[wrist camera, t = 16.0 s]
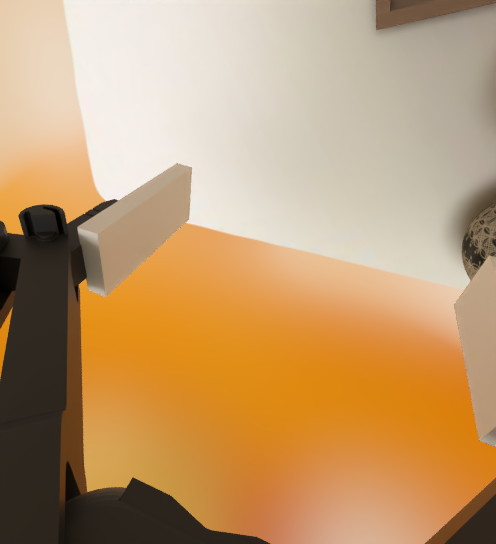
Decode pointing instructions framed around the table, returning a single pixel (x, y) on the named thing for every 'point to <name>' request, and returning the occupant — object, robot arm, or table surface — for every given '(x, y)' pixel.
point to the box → (419, 10)
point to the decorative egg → (479, 241)
